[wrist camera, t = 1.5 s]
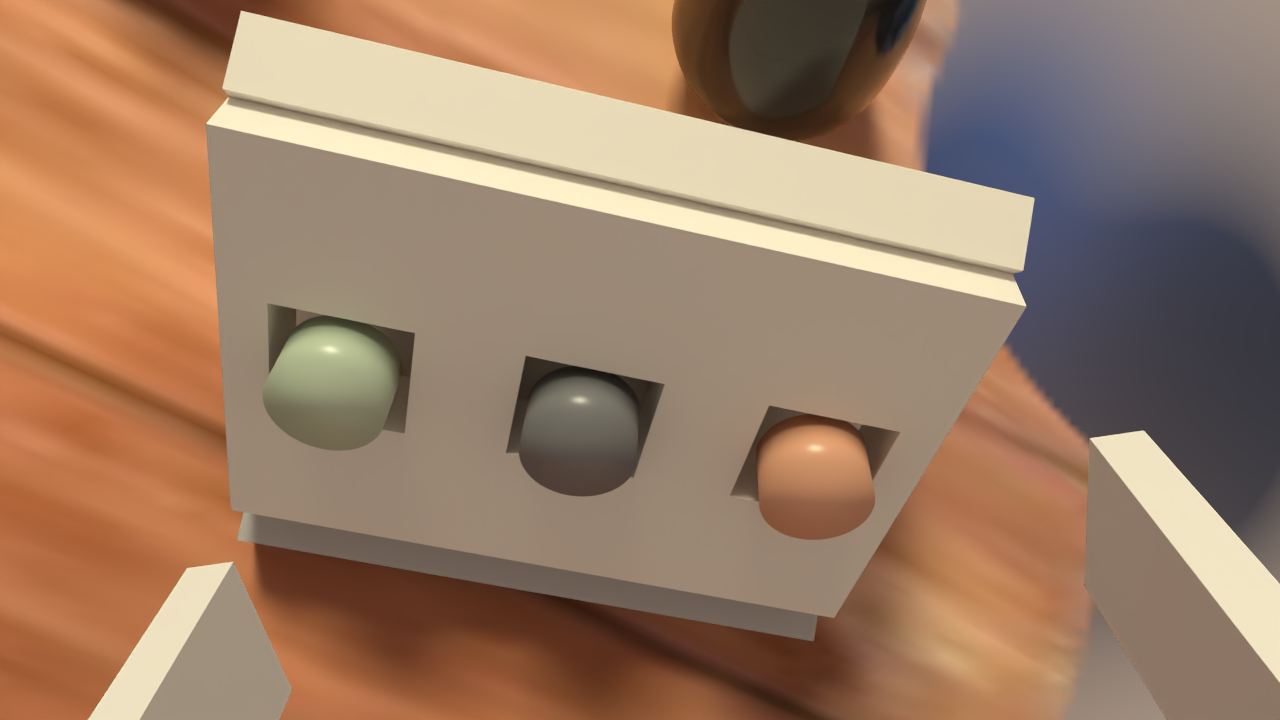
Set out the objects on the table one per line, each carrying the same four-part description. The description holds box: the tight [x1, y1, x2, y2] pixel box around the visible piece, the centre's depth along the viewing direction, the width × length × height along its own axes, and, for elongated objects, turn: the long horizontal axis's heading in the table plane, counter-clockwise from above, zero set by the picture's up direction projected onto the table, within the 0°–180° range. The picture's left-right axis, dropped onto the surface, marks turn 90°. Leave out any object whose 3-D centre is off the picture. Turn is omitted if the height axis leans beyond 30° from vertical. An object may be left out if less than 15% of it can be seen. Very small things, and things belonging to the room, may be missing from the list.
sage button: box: [262, 315, 402, 451], centre depth 33 cm, size 4×4×4 cm
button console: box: [206, 11, 1034, 641], centre depth 37 cm, size 25×17×17 cm
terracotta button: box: [756, 414, 875, 540], centre depth 35 cm, size 4×4×4 cm
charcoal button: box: [519, 366, 640, 497], centre depth 34 cm, size 4×4×4 cm
